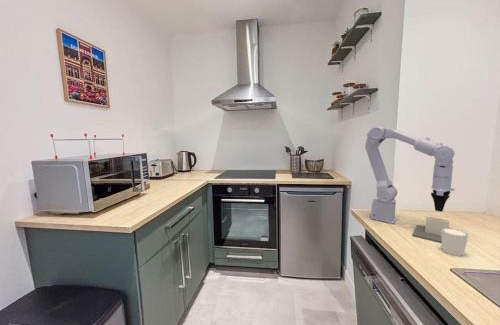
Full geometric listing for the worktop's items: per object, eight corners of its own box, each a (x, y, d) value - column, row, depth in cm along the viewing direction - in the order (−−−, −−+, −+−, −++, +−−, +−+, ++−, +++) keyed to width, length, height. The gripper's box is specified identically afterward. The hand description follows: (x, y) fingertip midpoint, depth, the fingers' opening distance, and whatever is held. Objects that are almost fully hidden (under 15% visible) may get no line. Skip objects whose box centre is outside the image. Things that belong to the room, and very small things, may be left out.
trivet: (412, 235, 89) (412, 234, 89) (416, 226, 99) (416, 224, 99) (456, 246, 80) (456, 245, 80) (457, 234, 90) (457, 233, 90)
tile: (425, 232, 91) (426, 217, 90) (425, 230, 93) (426, 216, 92) (447, 237, 86) (449, 222, 86) (448, 235, 88) (449, 220, 87)
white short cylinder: (469, 258, 73) (471, 238, 72) (441, 253, 76) (443, 233, 75) (463, 249, 78) (465, 230, 78) (437, 244, 82) (439, 226, 81)
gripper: (455, 180, 82) (451, 216, 84) (456, 175, 93) (452, 206, 95) (430, 178, 87) (427, 212, 89) (434, 173, 98) (431, 203, 99)
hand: (439, 209), depth 92 cm, fingers open, 5 cm apart
